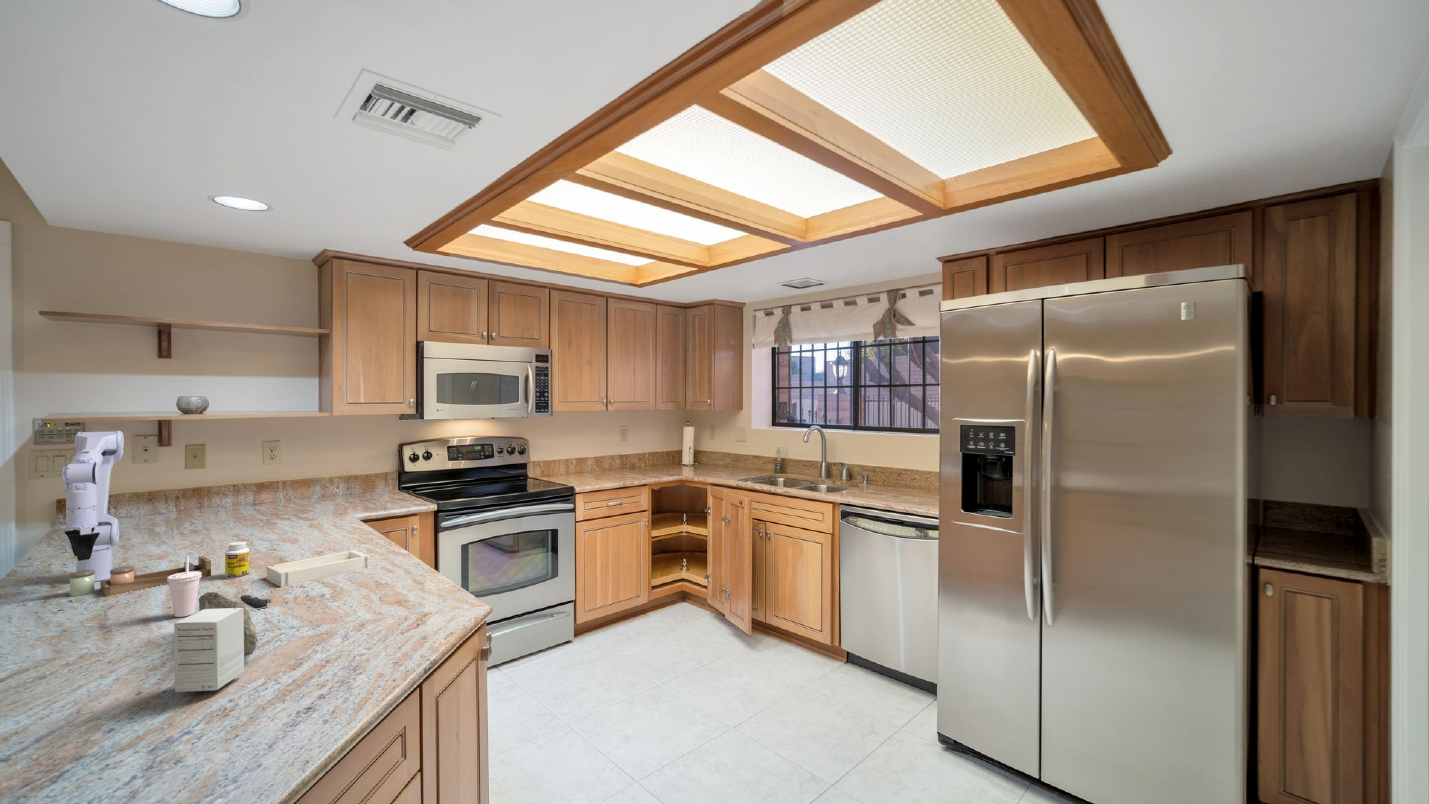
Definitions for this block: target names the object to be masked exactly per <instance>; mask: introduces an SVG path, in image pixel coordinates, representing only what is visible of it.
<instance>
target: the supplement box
mask: <svg viewBox="0 0 1429 804" xmlns="http://www.w3.org/2000/svg"><path fill="white" fill-rule="evenodd" d="M173 625H174V626H173V627H174V628H173V629H174V631H173V634H174V636H173V637H174V641H173V643H174V647H173V648H174V651H173V652H174V691H175V692H176V693H178V692H180V693H181V692H183V693H184V692H203V691H204V692H205V691H206V692H207V691H210V692H211V691H218V690H219V689H221V688H223V687H224V686H225V685H226V684H228V683H230V682H231V681H233V680H234V679H235V678H237V677H239V676H240V675H242V674H243V673H245V656H244V612H243V608H221V609H203V610H201V611H199V610H198V611H197V612H195V613H194V614H191V615H188V616H186V617H185V618H182V619H180V620H179V621H176V622H174V623H173Z"/></svg>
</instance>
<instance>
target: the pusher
mask: <svg viewBox="0 0 1429 804" xmlns="http://www.w3.org/2000/svg"><path fill="white" fill-rule="evenodd" d="M194 565H195V564H194V563H191V562H190V561H189V572H190V571H196V567H194ZM183 567H184V572H186V561H184V562H183Z"/></svg>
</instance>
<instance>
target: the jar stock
mask: <svg viewBox="0 0 1429 804" xmlns="http://www.w3.org/2000/svg"><path fill="white" fill-rule="evenodd" d="M134 576H135V566H132V565H130V566H129V565H128V566H126V565H125V566H120V567H115V568H112V569H111V570H110V579H109V580H110V586H113V585H118V584H124V583H130V582H134Z"/></svg>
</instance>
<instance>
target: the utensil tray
mask: <svg viewBox="0 0 1429 804" xmlns="http://www.w3.org/2000/svg"><path fill="white" fill-rule="evenodd" d="M368 568H369V569H370V568H371V555H368V554H366V553H363V552H360V551H357V550H353V549H352V550H347V551H346V550H345V551H342V552H336V553H330V554H326V555H325V554H324V555H320V556H316V557H310V558H309V557H308V558H304V559H300V560H299V559H298V560H294V561H288V562H284V563H283V562H282V563H277V564H273V565H267V566H266V580H268V581H270V582H271V583H273V584H275V585H277V586H278V587H280V588H284V587H290V586H293V585H298V584H304V583H308V582H311V581H317V580H321V579H324V578H329V577H330V578H331V577H333V576H339V575H342V574H347V573H350V572H356V571H360V570H364V569H368Z"/></svg>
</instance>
